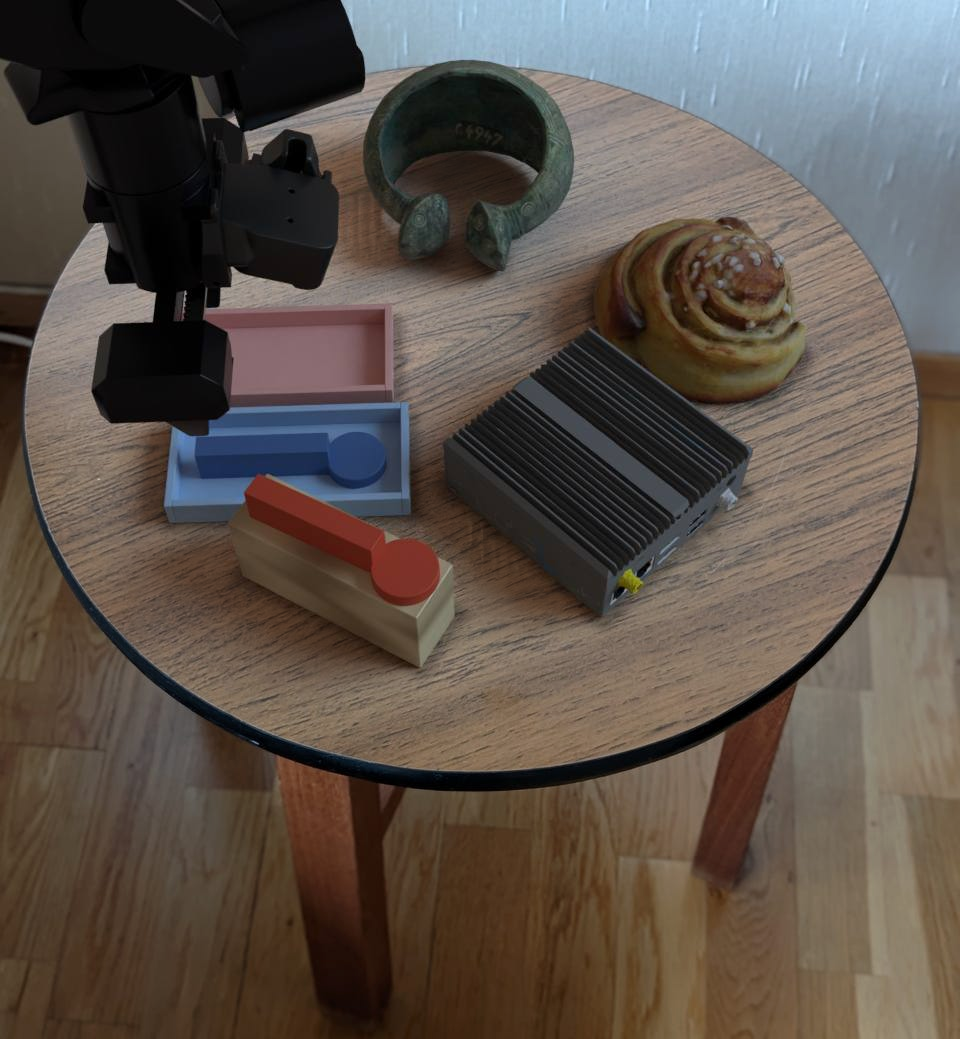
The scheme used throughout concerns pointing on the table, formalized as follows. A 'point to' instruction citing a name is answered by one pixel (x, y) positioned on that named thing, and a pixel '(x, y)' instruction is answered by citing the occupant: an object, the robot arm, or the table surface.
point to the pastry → (702, 309)
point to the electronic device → (595, 469)
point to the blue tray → (226, 495)
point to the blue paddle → (293, 456)
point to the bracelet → (467, 127)
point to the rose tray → (309, 354)
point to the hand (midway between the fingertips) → (205, 367)
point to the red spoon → (348, 541)
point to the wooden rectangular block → (341, 588)
